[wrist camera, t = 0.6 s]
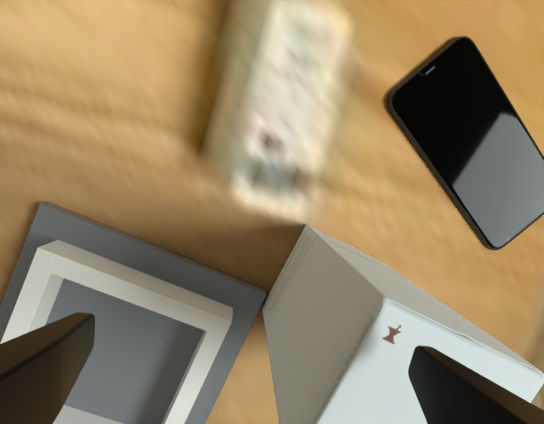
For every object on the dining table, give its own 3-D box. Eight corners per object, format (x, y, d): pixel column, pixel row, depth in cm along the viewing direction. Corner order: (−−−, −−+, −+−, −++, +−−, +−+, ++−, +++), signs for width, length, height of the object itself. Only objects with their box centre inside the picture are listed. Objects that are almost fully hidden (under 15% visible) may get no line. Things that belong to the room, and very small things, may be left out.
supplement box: (258, 308, 23) (276, 479, 10) (305, 221, 22) (386, 290, 10) (341, 346, 24) (450, 543, 11) (389, 264, 23) (559, 377, 11)
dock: (181, 468, 24) (173, 507, 21) (-31, 404, 22) (-71, 439, 19) (265, 290, 22) (268, 307, 20) (47, 201, 20) (16, 207, 17)
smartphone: (559, 194, 24) (459, 32, 21) (570, 195, 23) (468, 27, 21) (486, 253, 24) (378, 101, 22) (494, 256, 23) (384, 98, 21)
